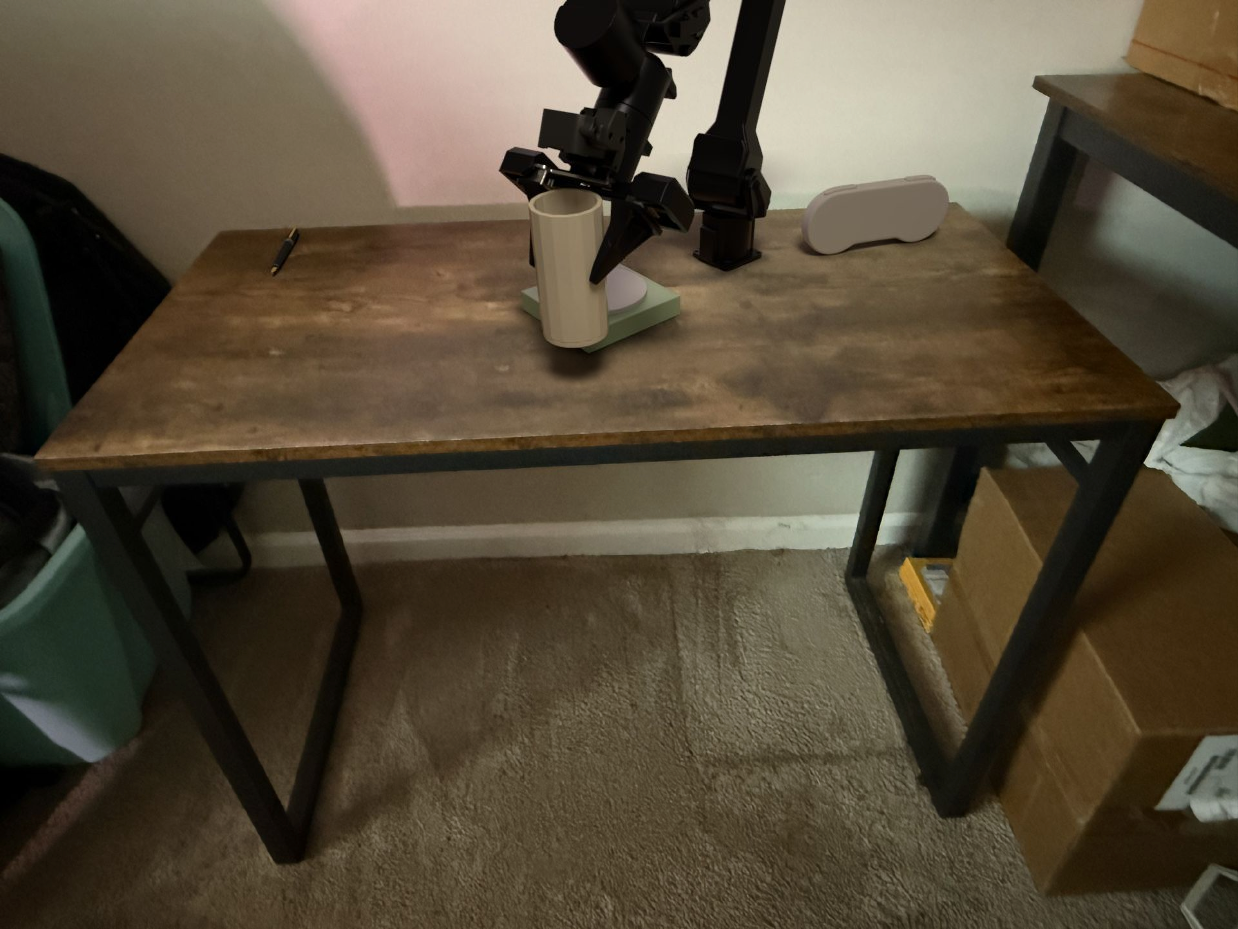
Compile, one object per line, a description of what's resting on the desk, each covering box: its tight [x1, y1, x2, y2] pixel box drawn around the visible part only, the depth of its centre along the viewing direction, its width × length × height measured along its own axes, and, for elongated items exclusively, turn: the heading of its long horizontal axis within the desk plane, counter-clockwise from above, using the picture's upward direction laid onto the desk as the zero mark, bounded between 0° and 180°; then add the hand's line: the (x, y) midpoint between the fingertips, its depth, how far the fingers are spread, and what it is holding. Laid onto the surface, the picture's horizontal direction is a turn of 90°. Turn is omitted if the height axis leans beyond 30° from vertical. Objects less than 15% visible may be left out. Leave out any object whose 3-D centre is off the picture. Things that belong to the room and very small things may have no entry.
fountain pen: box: [270, 226, 299, 274], centre depth 108 cm, size 14×1×2 cm, turn 5°
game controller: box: [800, 174, 950, 255], centre depth 102 cm, size 20×2×8 cm, turn 105°
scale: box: [520, 263, 681, 354], centre depth 92 cm, size 13×13×3 cm
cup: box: [527, 189, 609, 349], centre depth 75 cm, size 6×6×13 cm
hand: (562, 274), depth 74 cm, fingers closed on cup, 6 cm apart
